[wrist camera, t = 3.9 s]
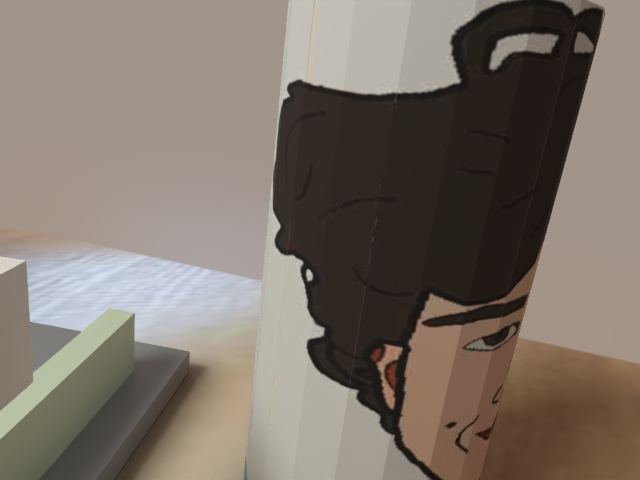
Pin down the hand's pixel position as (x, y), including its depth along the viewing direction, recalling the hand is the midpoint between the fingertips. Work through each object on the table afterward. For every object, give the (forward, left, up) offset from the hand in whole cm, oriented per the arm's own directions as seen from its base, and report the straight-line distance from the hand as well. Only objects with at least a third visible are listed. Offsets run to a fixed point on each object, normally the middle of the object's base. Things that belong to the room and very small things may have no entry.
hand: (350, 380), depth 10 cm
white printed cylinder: (-1, -5, -8) cm, 9 cm away
